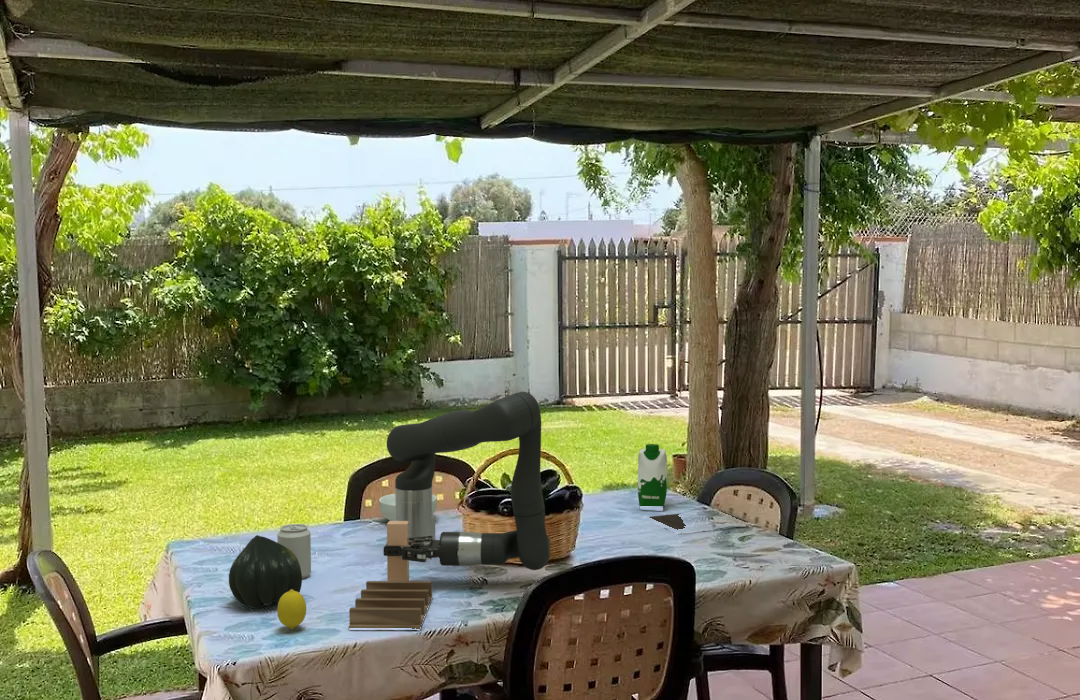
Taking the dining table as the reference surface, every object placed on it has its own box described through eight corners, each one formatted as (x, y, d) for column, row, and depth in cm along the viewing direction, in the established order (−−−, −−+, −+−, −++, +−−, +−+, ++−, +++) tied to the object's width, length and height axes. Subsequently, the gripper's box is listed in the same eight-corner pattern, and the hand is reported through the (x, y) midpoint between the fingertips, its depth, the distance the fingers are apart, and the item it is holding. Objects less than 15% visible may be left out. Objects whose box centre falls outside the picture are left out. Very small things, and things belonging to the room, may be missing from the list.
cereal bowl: (380, 515, 285) (380, 492, 285) (437, 514, 287) (437, 491, 287) (377, 530, 268) (377, 505, 268) (437, 528, 270) (437, 503, 270)
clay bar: (389, 581, 219) (389, 520, 218) (409, 581, 219) (408, 520, 218) (387, 585, 216) (386, 524, 215) (407, 585, 216) (406, 524, 215)
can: (281, 583, 219) (281, 531, 219) (274, 574, 226) (274, 524, 225) (314, 579, 223) (313, 528, 222) (306, 570, 230) (306, 521, 229)
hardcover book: (748, 529, 272) (748, 521, 272) (677, 537, 263) (677, 528, 263) (717, 516, 287) (717, 509, 286) (648, 523, 278) (649, 516, 278)
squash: (303, 588, 198) (298, 523, 207) (227, 597, 194) (225, 531, 203) (303, 616, 209) (298, 553, 218) (231, 625, 205) (229, 561, 214)
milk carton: (636, 511, 291) (637, 445, 290) (639, 504, 300) (639, 441, 299) (665, 512, 289) (666, 446, 288) (667, 506, 298) (668, 442, 297)
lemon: (280, 625, 192) (279, 585, 192) (308, 624, 193) (308, 585, 192) (275, 634, 187) (274, 594, 186) (304, 634, 187) (303, 593, 187)
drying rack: (368, 598, 209) (367, 580, 209) (432, 598, 209) (432, 580, 209) (348, 630, 189) (348, 610, 189) (419, 631, 189) (419, 611, 189)
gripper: (464, 524, 223) (390, 524, 224) (458, 540, 209) (379, 540, 210) (464, 556, 224) (390, 556, 224) (458, 574, 210) (379, 574, 210)
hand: (385, 548), depth 217 cm, fingers closed on clay bar, 3 cm apart
